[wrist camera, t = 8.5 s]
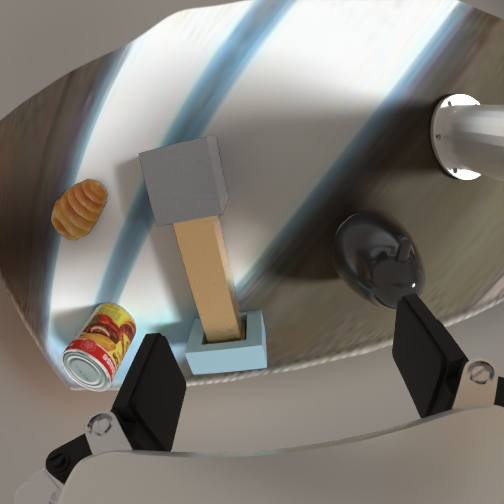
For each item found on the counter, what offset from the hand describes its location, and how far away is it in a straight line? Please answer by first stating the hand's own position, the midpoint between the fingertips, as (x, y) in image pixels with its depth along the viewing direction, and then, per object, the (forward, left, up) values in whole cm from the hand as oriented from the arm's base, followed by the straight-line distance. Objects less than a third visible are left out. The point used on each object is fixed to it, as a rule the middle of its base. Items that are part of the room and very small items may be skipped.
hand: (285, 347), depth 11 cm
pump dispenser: (-12, +8, -28) cm, 31 cm away
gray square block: (+8, -4, -28) cm, 29 cm away
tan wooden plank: (+8, +8, -27) cm, 29 cm away
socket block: (+8, +18, -28) cm, 34 cm away
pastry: (+25, -4, -28) cm, 38 cm away
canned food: (+27, +16, -28) cm, 42 cm away
